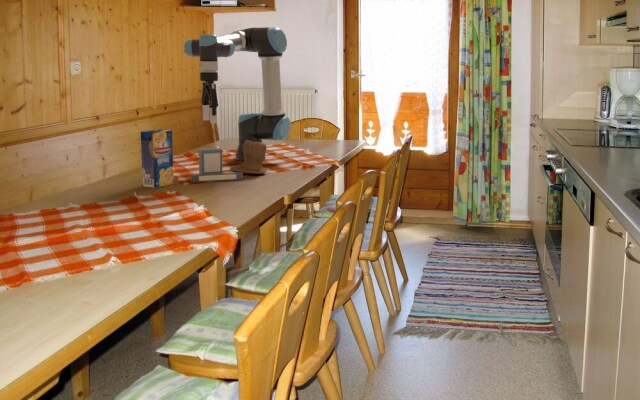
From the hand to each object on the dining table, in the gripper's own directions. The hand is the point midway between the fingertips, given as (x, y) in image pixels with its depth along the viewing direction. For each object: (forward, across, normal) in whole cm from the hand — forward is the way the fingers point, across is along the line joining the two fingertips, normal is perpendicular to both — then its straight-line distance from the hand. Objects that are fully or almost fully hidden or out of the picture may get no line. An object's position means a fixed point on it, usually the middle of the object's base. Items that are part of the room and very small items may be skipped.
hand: (209, 121), depth 333 cm
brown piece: (+24, -2, +18) cm, 30 cm away
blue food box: (+24, +13, -25) cm, 37 cm away
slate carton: (+24, 0, 0) cm, 24 cm away
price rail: (+24, +12, 0) cm, 26 cm away
